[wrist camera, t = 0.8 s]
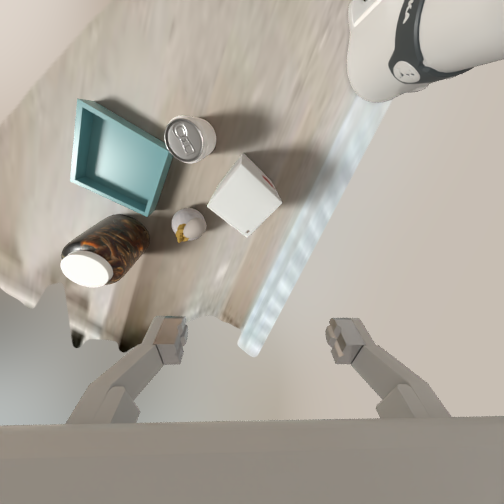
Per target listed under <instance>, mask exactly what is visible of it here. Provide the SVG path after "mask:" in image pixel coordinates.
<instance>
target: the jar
mask: <svg viewBox="0 0 504 504" xmlns="http://www.w3.org/2000/svg"><path fill="white" fill-rule="evenodd" d="M149 242H150V238H149V234H148V232H147V230H146V229H145V227H144V226H143V225H142V224H141V223H140V222H138V221H137V220H135V219H133V218H131V217H128V216H125V215H112V216H109V217H107V218H105V219H104V220H102V221H100V222H99V223H97V224H96V225H94V226H93V227H91V228H90V229H88V230H87V231H85V232H84V233H82V234H81V235H79V236H78V237H76V238H75V239H73V240H72V241H71V242H69V243H68V244H67V245H66V246H65V247H64V249H63V251H62V254H61V258H62V261H61V264H60V266H61V270H62V272H63V273H64V275H65V276H66V277H67V278H69V279H70V280H71V281H73V282H75V283H77V284H79V285H82V286H85V287H100V286H103V285H108V284H112V283H115V282H117V281H119V280H120V279H121V278H122V277H123V276H124V275H125V274H126V273H127V272H128V271H129V269H130V268H131V267H132V266H133V265H134V264H135V262H136V261H137V260H138V259H139V257H140V256H141V255H142V254H143V252H144V251H145V250H146V249H147V247H148V245H149Z"/></svg>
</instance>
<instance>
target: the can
mask: <svg viewBox="0 0 504 504" xmlns="http://www.w3.org/2000/svg"><path fill="white" fill-rule="evenodd" d="M164 137H165V143H166V146H167V148H168V150H169V152H170V153H171V154H172V155H173V156H174V157H175V158H176V159H178V160H180V161H182V162H185V163H196V162H199V161H200V160H202V159H203V158H205V157H206V156H207V155H209V154H210V153H211V152H212V151H213V150H214V148H215V145H216V134H215V131H214V129H213V127H212V126H211V124H210V123H209V122H207V121H206V120H204V119H202V118H198V117H193V116H187V115H180V116H177V117H175V118H173V119H172V120H171V121H170V122H169V123H168V125H167V127H166V129H165V135H164Z"/></svg>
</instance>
